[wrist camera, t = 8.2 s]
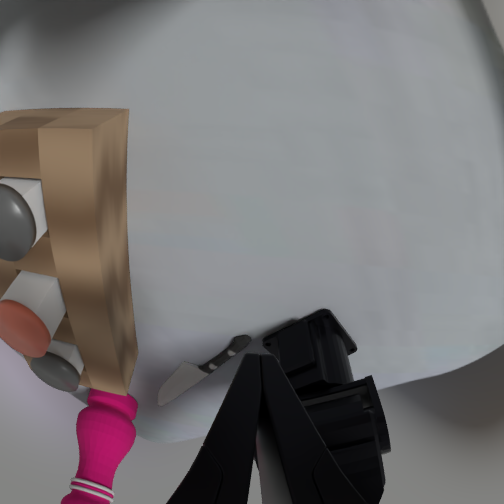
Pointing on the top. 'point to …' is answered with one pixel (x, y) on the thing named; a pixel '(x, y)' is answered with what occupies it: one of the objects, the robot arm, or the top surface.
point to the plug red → (31, 313)
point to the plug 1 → (20, 216)
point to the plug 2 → (59, 366)
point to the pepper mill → (101, 445)
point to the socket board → (79, 230)
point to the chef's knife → (196, 372)
